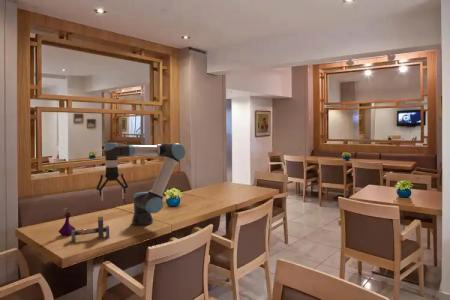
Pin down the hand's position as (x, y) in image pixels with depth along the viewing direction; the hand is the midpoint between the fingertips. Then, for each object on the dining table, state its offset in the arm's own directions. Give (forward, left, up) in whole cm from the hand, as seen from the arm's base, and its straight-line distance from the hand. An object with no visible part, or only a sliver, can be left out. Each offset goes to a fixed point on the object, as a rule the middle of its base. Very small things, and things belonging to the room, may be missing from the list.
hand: (112, 199), depth 204 cm
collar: (+8, 0, -24) cm, 26 cm away
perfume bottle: (+29, -15, -25) cm, 41 cm away
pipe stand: (+14, 0, -24) cm, 28 cm away
